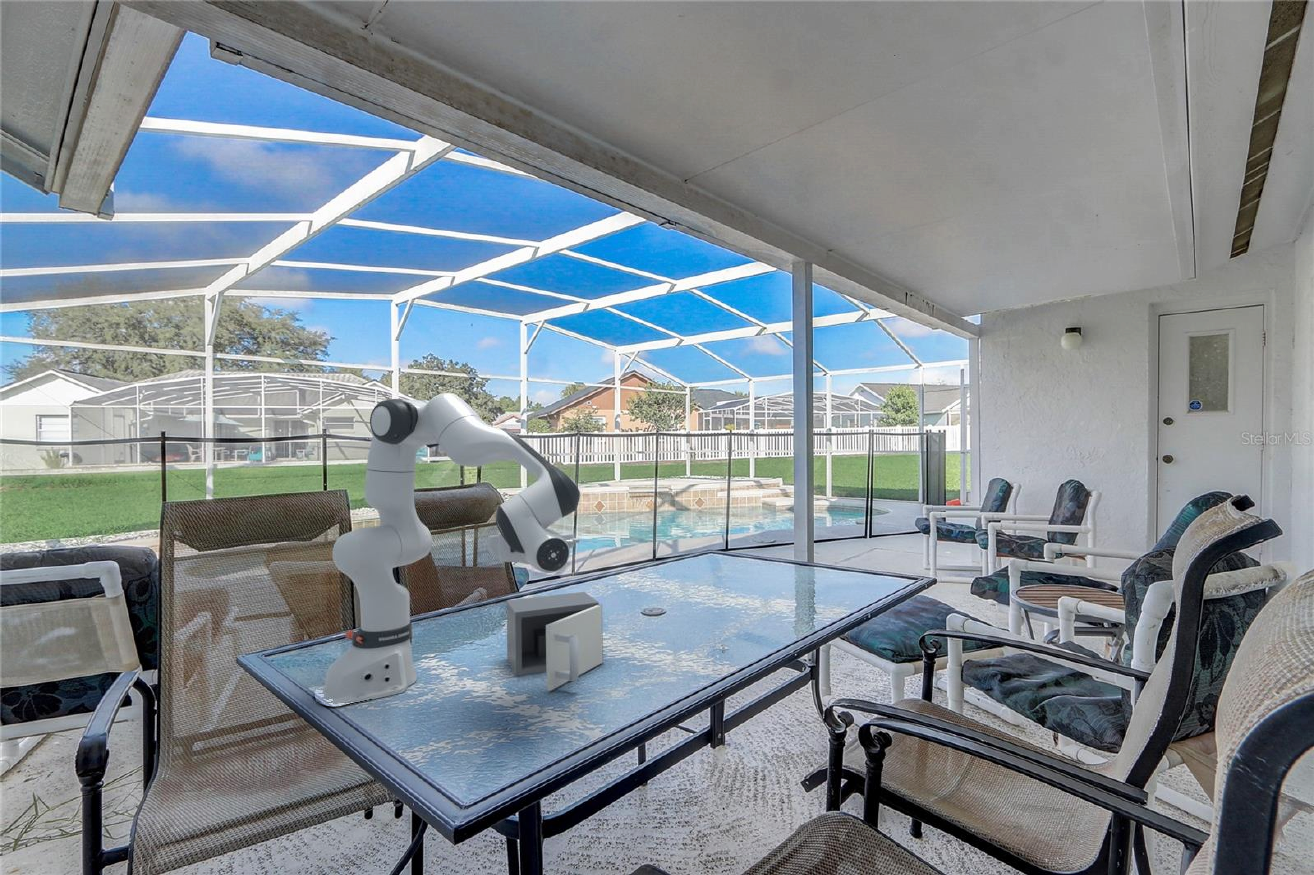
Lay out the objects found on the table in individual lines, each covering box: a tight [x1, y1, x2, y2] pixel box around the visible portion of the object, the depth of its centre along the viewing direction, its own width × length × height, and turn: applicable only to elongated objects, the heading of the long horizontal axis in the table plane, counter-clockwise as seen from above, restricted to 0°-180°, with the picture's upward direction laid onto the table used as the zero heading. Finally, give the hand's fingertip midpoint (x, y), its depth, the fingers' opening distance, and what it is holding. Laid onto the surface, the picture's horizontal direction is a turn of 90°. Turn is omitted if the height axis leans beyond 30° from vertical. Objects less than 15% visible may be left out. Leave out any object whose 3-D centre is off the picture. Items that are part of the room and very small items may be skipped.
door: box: [545, 604, 604, 692], centre depth 146 cm, size 22×7×15 cm, turn 150°
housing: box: [506, 591, 600, 677], centre depth 159 cm, size 22×14×16 cm, turn 113°
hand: (526, 537), depth 147 cm, fingers open, 5 cm apart
